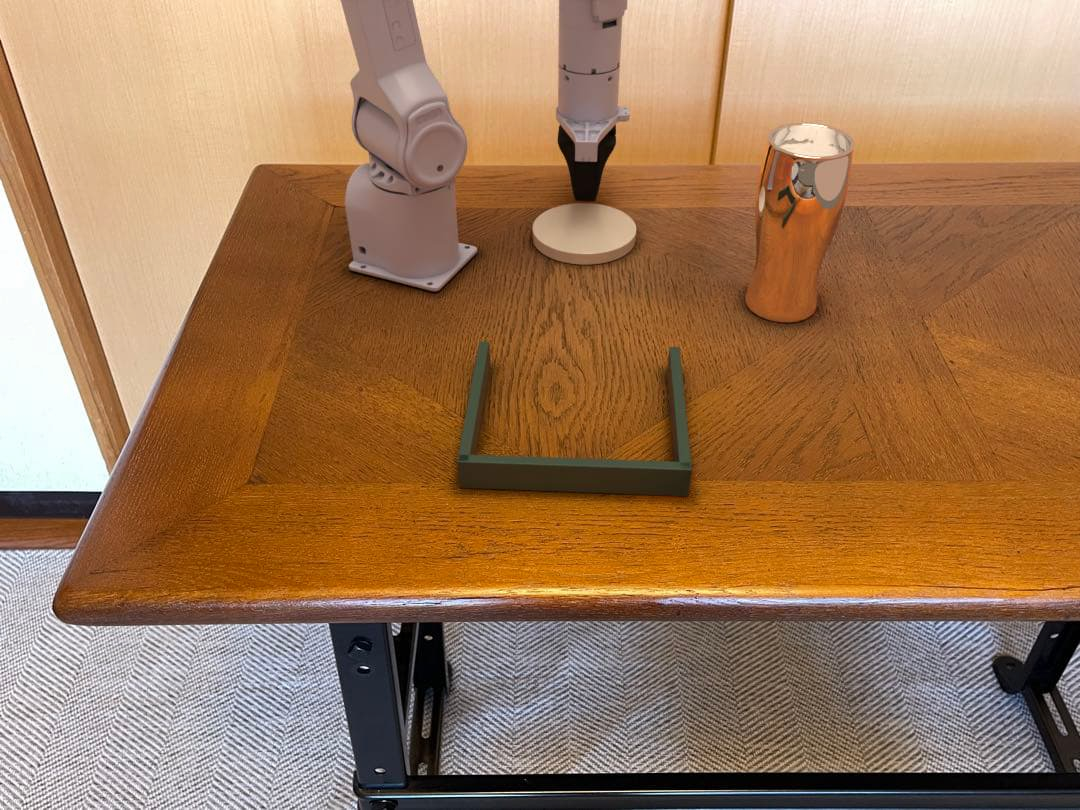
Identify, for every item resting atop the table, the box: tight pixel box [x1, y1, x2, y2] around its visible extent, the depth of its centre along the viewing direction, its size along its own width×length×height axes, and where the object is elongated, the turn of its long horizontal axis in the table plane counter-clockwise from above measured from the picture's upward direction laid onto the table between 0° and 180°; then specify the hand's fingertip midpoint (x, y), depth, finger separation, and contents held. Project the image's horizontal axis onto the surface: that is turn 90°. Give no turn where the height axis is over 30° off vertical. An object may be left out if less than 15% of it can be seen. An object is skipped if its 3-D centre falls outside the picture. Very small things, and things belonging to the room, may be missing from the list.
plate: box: [531, 202, 637, 266], centre depth 89 cm, size 10×10×1 cm
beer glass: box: [744, 122, 856, 324], centre depth 76 cm, size 7×7×15 cm
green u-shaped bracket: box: [456, 341, 693, 497], centre depth 67 cm, size 14×16×2 cm
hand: (585, 198), depth 94 cm, fingers closed
